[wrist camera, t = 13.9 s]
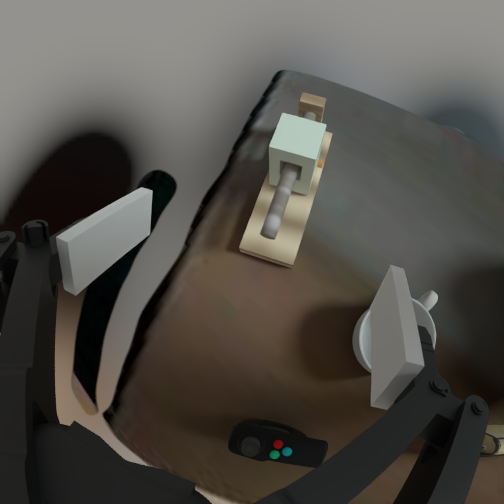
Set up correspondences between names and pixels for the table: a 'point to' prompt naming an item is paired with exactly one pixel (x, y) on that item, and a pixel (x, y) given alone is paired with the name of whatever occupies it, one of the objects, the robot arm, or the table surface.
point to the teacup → (364, 327)
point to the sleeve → (296, 150)
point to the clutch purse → (493, 441)
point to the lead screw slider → (285, 203)
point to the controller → (276, 443)
